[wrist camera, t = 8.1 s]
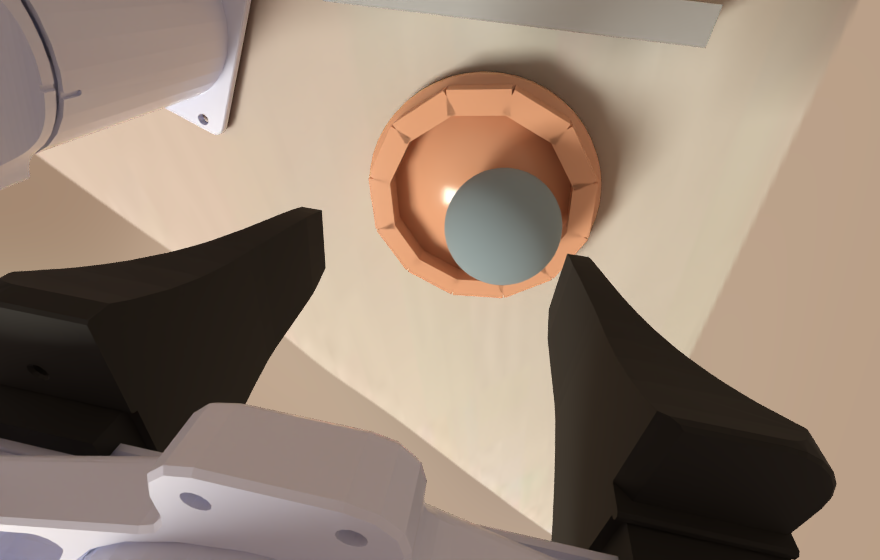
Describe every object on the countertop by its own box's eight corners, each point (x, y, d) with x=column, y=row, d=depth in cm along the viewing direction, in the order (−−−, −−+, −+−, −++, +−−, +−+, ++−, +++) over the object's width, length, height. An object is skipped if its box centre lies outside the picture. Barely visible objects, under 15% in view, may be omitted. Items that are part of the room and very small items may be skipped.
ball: (412, 232, 20) (447, 297, 17) (460, 133, 18) (513, 182, 14) (495, 255, 23) (541, 317, 19) (545, 170, 21) (609, 220, 17)
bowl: (343, 224, 24) (333, 238, 22) (432, 17, 17) (424, 20, 16) (514, 315, 25) (513, 333, 24) (653, 155, 19) (662, 168, 18)
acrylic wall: (350, -3, 17) (323, 0, 15) (349, -39, 17) (321, -42, 14) (681, 38, 16) (705, 48, 14) (695, 0, 16) (723, 4, 13)
